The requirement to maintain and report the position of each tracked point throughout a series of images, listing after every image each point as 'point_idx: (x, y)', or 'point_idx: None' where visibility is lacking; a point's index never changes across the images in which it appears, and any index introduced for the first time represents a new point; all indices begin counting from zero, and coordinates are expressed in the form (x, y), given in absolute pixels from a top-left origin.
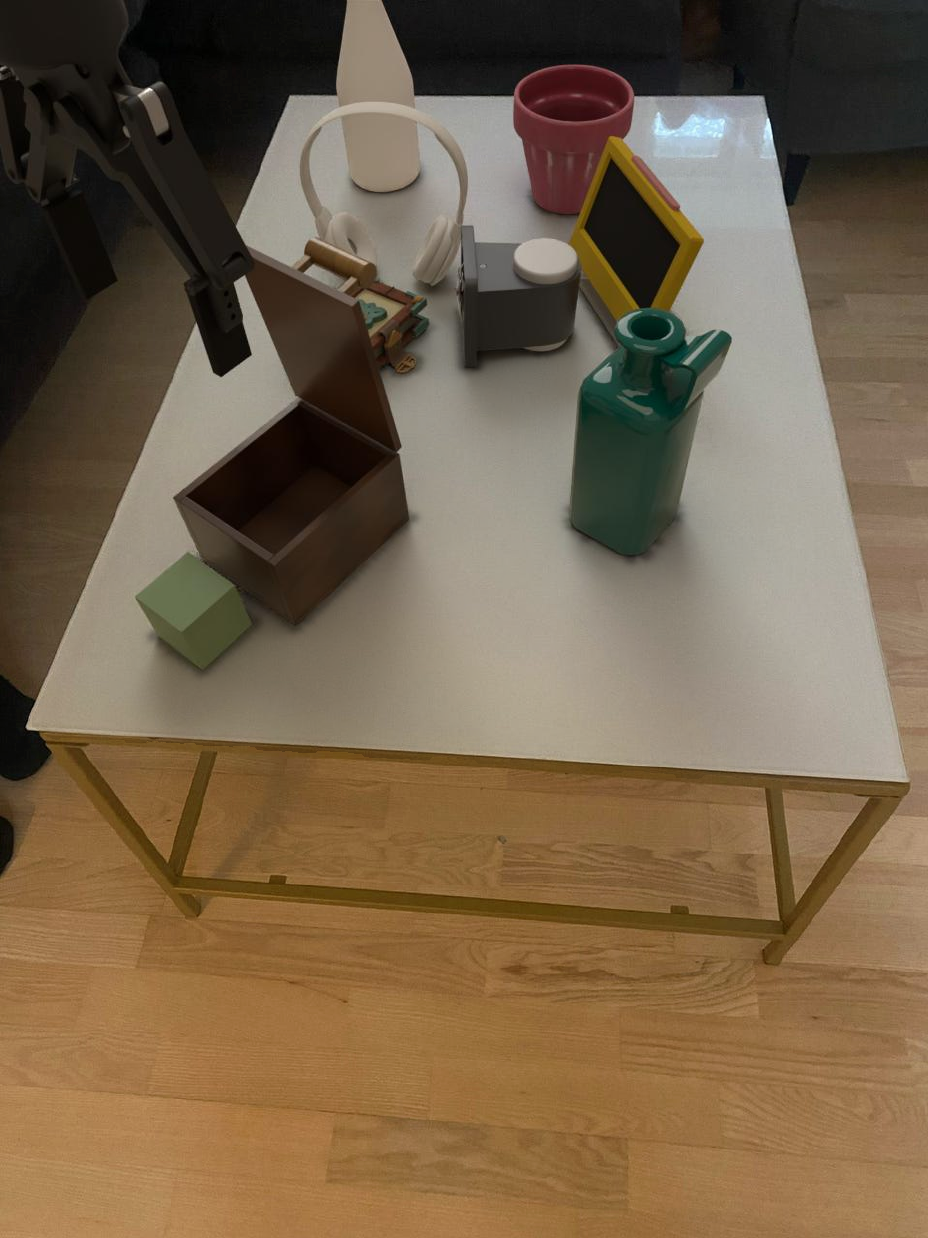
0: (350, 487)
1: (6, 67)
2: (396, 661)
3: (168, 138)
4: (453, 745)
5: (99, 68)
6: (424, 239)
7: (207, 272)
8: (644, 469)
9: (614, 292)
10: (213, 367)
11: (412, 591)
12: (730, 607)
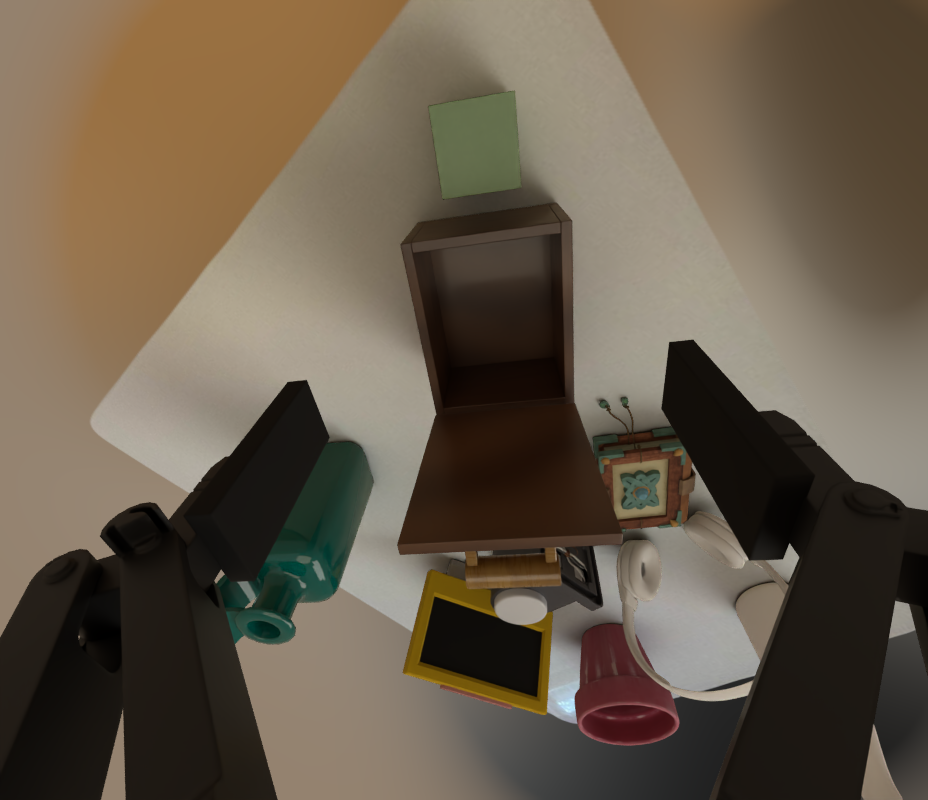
0: (506, 361)
1: None
2: (327, 265)
3: None
4: (229, 243)
5: None
6: (660, 572)
7: (71, 579)
8: None
9: (478, 600)
10: (294, 388)
11: (380, 322)
12: None
